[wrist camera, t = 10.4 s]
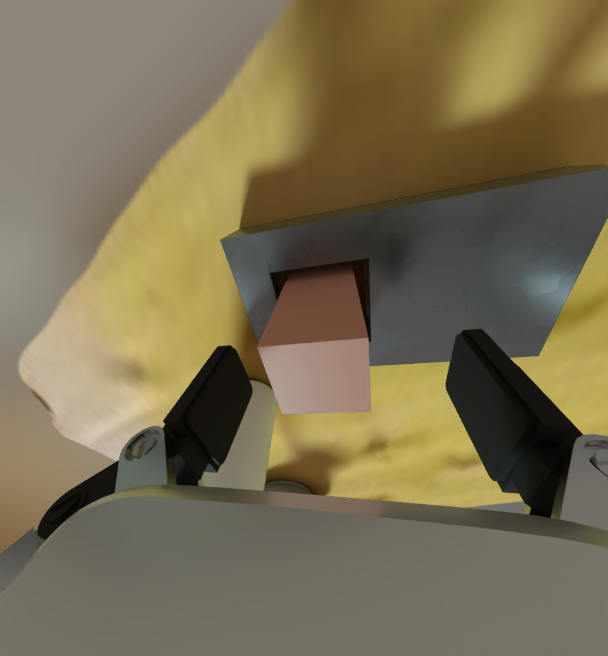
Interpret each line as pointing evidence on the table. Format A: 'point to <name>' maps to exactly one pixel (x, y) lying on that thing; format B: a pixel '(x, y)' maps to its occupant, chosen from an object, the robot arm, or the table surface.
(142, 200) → the table surface
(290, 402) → the square peg
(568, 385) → the table surface
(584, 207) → the square hole plate
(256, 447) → the drinking glass
